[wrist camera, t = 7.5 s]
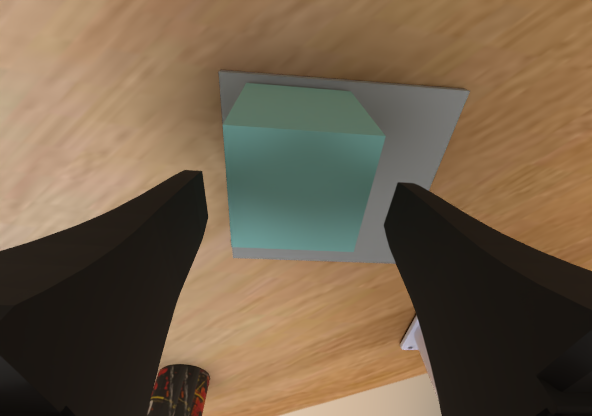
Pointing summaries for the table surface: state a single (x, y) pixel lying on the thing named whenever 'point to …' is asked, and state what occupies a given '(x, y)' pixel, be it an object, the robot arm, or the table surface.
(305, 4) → the table surface
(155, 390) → the deodorant
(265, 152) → the mint green cube
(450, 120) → the mat
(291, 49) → the table surface
